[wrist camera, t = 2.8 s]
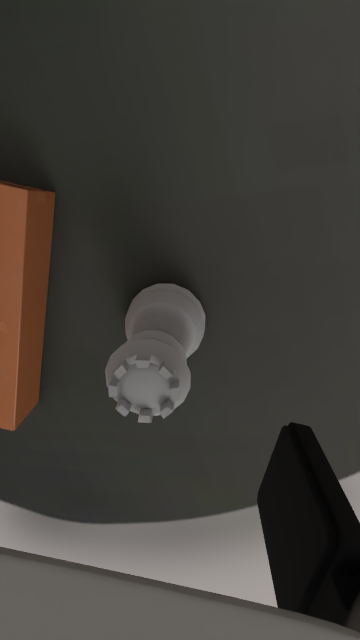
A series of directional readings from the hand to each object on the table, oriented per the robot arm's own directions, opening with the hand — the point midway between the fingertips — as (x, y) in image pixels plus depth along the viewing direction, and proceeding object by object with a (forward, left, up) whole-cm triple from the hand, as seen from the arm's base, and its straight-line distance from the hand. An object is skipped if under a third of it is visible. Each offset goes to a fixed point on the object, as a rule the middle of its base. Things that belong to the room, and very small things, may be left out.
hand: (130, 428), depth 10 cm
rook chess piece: (0, 0, -10) cm, 10 cm away
